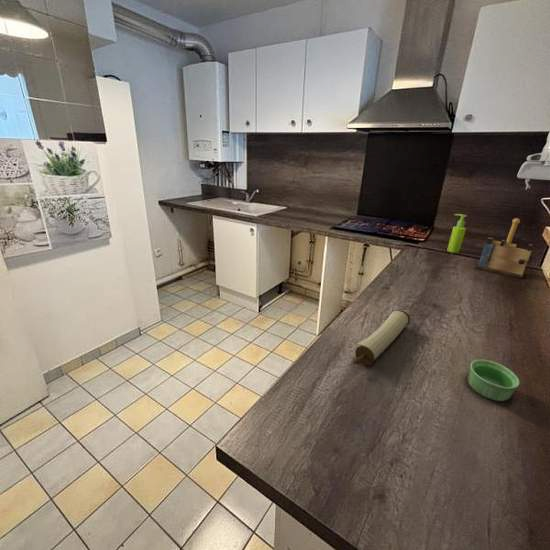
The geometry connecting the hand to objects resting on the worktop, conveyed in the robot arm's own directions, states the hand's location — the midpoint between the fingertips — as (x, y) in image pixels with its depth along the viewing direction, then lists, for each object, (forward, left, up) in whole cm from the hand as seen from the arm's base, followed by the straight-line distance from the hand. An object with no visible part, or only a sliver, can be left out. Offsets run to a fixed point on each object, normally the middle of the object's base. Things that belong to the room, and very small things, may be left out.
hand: (540, 190), depth 129 cm
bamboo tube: (+48, +99, -35) cm, 115 cm away
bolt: (+10, +15, -23) cm, 29 cm away
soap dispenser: (+26, -8, -35) cm, 45 cm away
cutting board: (+8, +16, -35) cm, 39 cm away
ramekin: (+24, +105, -35) cm, 113 cm away
